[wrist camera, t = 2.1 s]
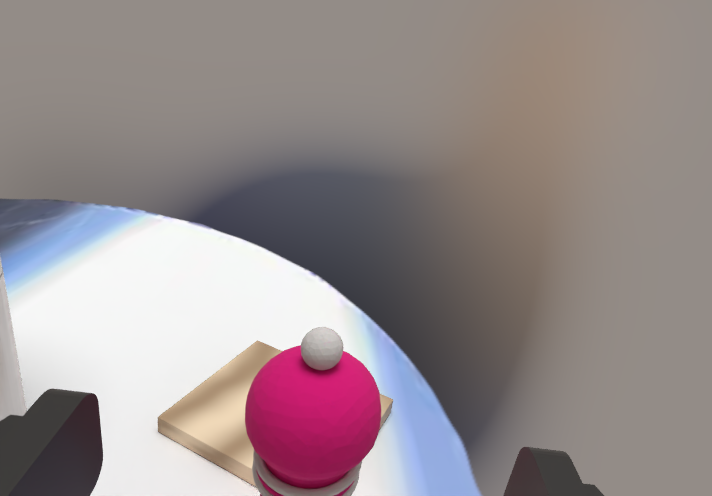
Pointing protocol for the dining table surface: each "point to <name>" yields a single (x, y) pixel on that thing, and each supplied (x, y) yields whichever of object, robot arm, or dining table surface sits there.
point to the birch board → (225, 413)
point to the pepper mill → (311, 419)
